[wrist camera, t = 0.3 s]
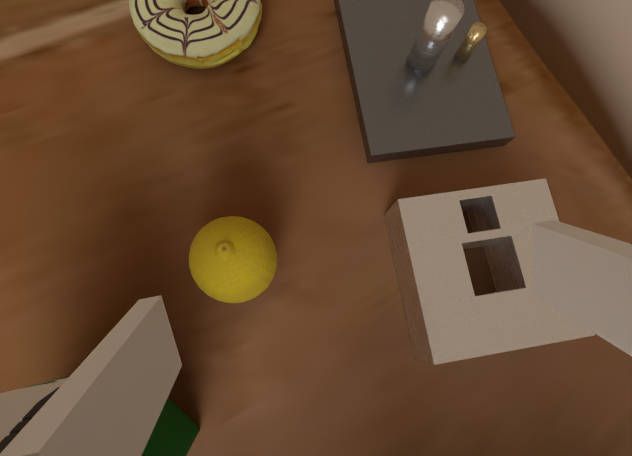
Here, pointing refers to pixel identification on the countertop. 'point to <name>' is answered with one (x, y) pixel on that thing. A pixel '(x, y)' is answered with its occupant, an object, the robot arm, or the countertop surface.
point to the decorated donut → (197, 29)
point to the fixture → (421, 77)
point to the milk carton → (162, 447)
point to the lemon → (233, 259)
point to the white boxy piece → (454, 279)
